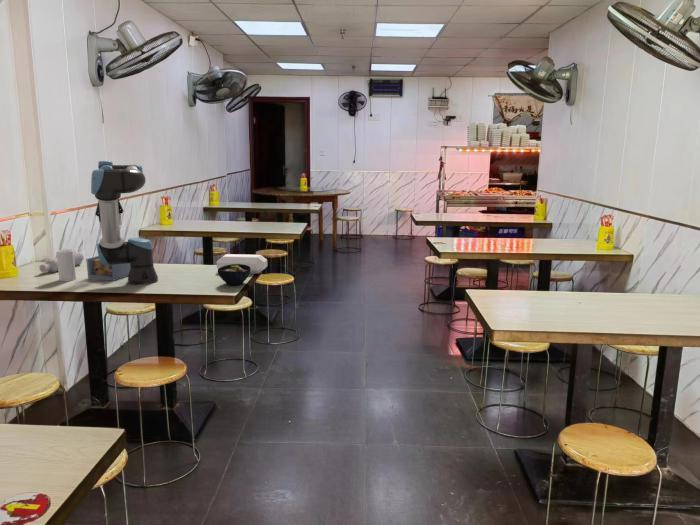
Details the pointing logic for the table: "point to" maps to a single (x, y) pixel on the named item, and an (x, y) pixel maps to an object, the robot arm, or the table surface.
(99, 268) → the tan wooden block
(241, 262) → the crystal
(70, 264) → the cup
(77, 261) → the bottle
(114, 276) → the cabinet
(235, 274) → the bowl
